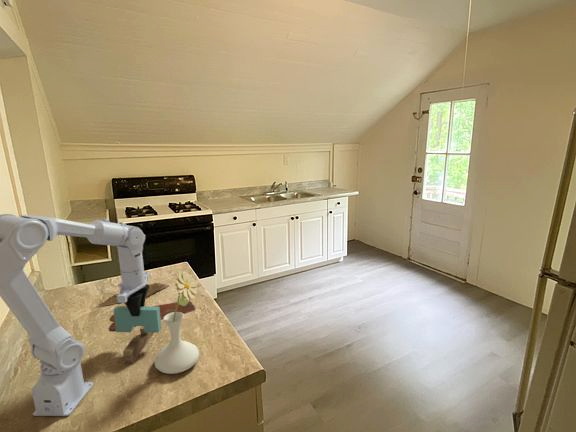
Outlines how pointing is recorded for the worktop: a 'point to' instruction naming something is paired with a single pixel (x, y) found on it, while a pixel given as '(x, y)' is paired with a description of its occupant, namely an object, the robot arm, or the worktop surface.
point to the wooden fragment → (152, 289)
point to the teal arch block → (137, 319)
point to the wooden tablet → (164, 311)
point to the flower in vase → (178, 332)
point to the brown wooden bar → (136, 346)
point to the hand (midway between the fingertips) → (137, 313)
